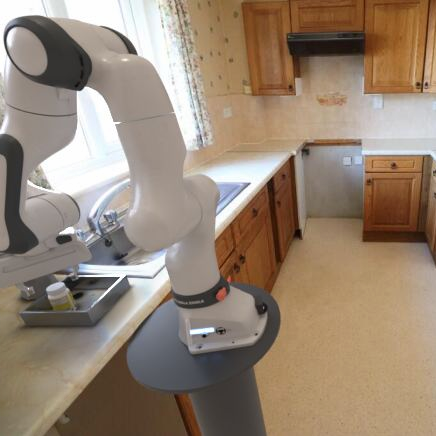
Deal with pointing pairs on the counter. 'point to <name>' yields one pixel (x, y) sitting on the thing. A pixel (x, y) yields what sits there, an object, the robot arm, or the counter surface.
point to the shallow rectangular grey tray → (38, 308)
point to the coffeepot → (39, 285)
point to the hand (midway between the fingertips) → (54, 286)
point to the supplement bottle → (60, 297)
